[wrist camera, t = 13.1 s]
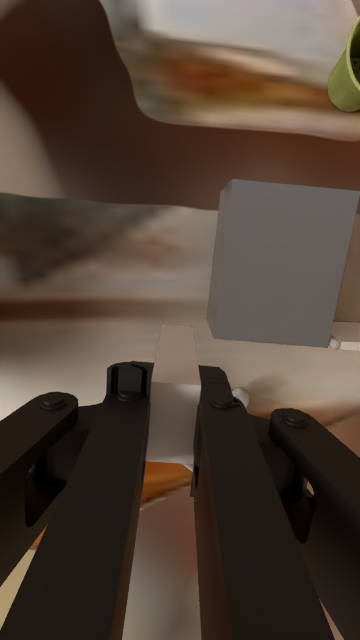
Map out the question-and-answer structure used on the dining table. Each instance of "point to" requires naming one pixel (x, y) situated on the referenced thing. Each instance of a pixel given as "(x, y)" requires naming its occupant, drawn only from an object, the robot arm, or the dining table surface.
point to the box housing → (279, 262)
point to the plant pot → (347, 75)
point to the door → (345, 336)
